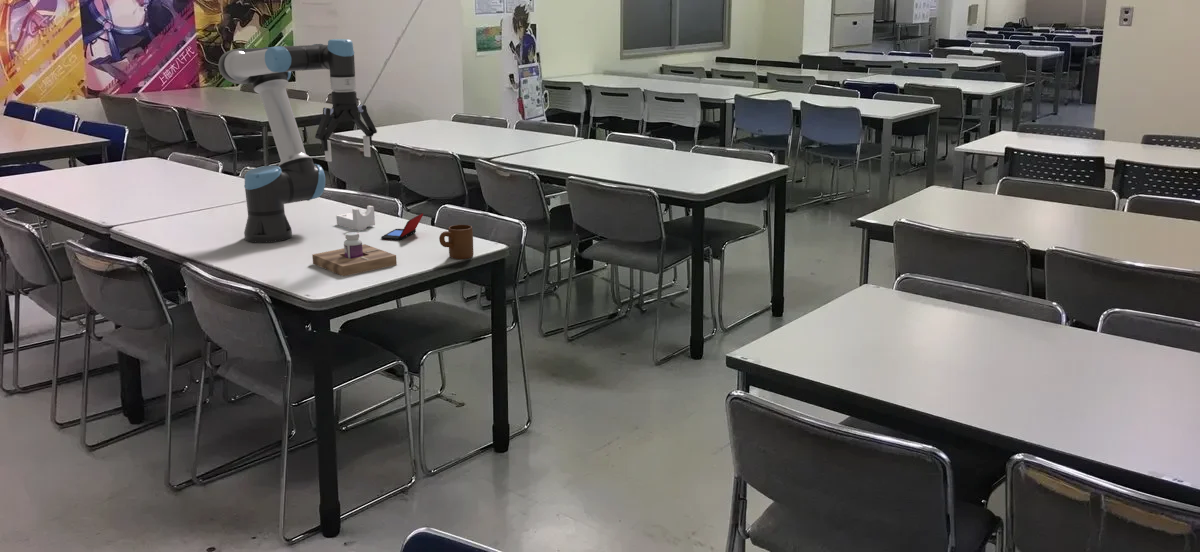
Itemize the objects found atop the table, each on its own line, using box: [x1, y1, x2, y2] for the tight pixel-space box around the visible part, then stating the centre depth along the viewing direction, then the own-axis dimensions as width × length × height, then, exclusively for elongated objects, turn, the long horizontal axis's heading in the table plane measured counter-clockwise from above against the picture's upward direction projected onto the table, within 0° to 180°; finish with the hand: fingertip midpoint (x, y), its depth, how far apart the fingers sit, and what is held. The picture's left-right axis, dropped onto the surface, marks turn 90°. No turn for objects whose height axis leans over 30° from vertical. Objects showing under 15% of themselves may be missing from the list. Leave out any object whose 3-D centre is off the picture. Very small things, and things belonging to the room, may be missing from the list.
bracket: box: [335, 205, 376, 231], centre depth 339 cm, size 13×7×8 cm, turn 47°
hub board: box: [312, 244, 398, 277], centre depth 292 cm, size 18×18×3 cm
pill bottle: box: [343, 231, 363, 259], centre depth 291 cm, size 5×5×10 cm
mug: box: [439, 224, 474, 260], centre depth 299 cm, size 12×8×9 cm, turn 138°
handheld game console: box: [381, 212, 424, 242], centre depth 325 cm, size 12×11×7 cm
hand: (348, 158), depth 305 cm, fingers open, 13 cm apart
